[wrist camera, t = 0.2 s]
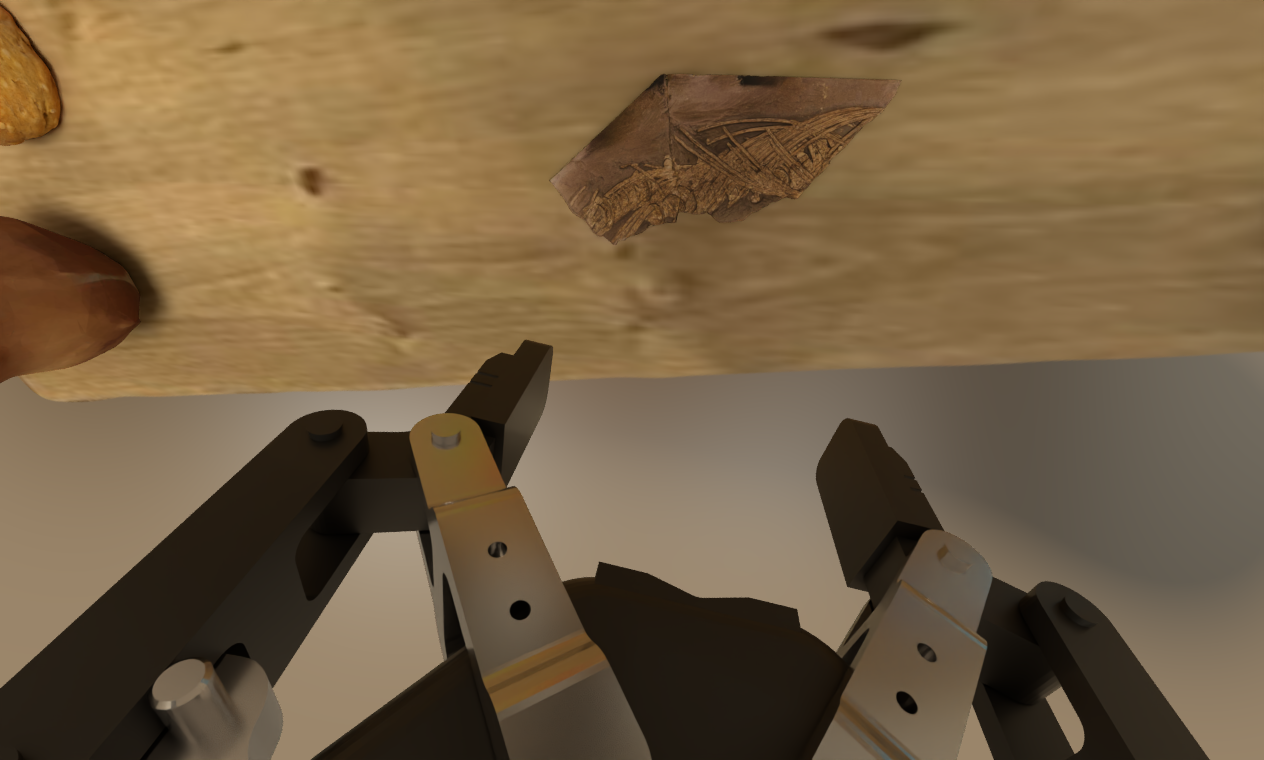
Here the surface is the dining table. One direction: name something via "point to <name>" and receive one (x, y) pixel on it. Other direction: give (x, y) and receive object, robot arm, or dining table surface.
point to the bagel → (24, 88)
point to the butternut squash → (58, 301)
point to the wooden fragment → (714, 148)
